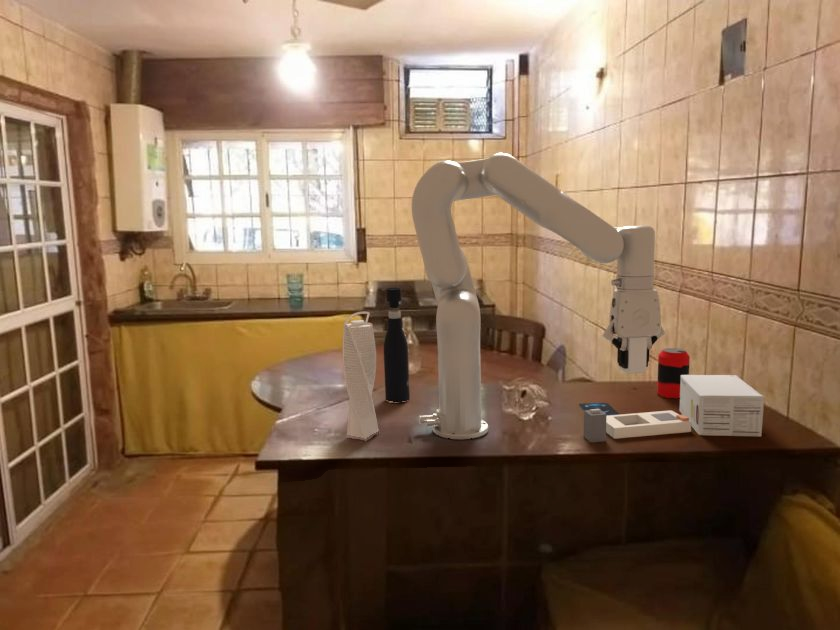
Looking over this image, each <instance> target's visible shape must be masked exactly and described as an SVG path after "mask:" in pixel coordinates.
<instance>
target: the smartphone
mask: <svg viewBox="0 0 840 630" xmlns="http://www.w3.org/2000/svg"><path fill="white" fill-rule="evenodd" d="M578 406H579V408H581V410H582V411H583V412H584V410H590V409H600V410H601V411H603V412H604V413H605V414H606V416H610V415H621V414H620V413H619V412H618V411H617V410H616V409H614V408H613V407H612V405H610V404H609V402H608V403H607V402H589V403H587V402H586V403H583V402H582V403H579V404H578Z"/></svg>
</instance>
